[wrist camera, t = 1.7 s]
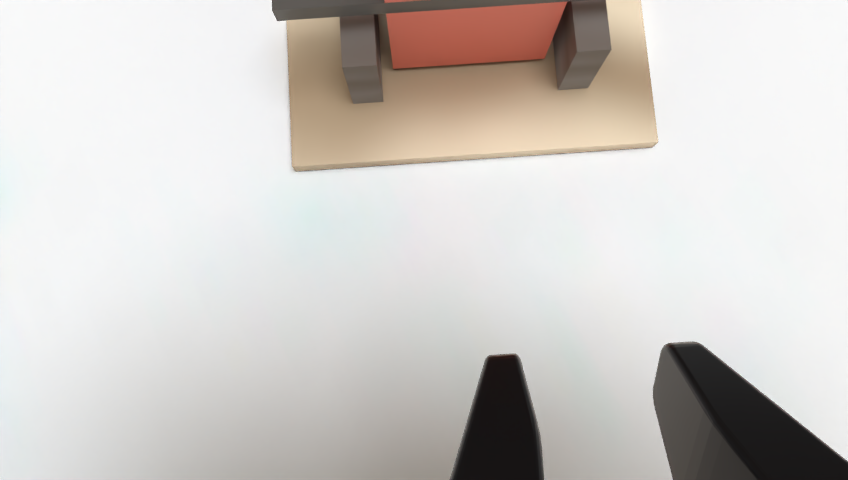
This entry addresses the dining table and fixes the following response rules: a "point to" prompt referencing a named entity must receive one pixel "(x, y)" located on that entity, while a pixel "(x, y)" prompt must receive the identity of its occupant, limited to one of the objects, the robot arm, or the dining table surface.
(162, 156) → the dining table surface
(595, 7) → the beige base board
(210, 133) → the dining table surface
